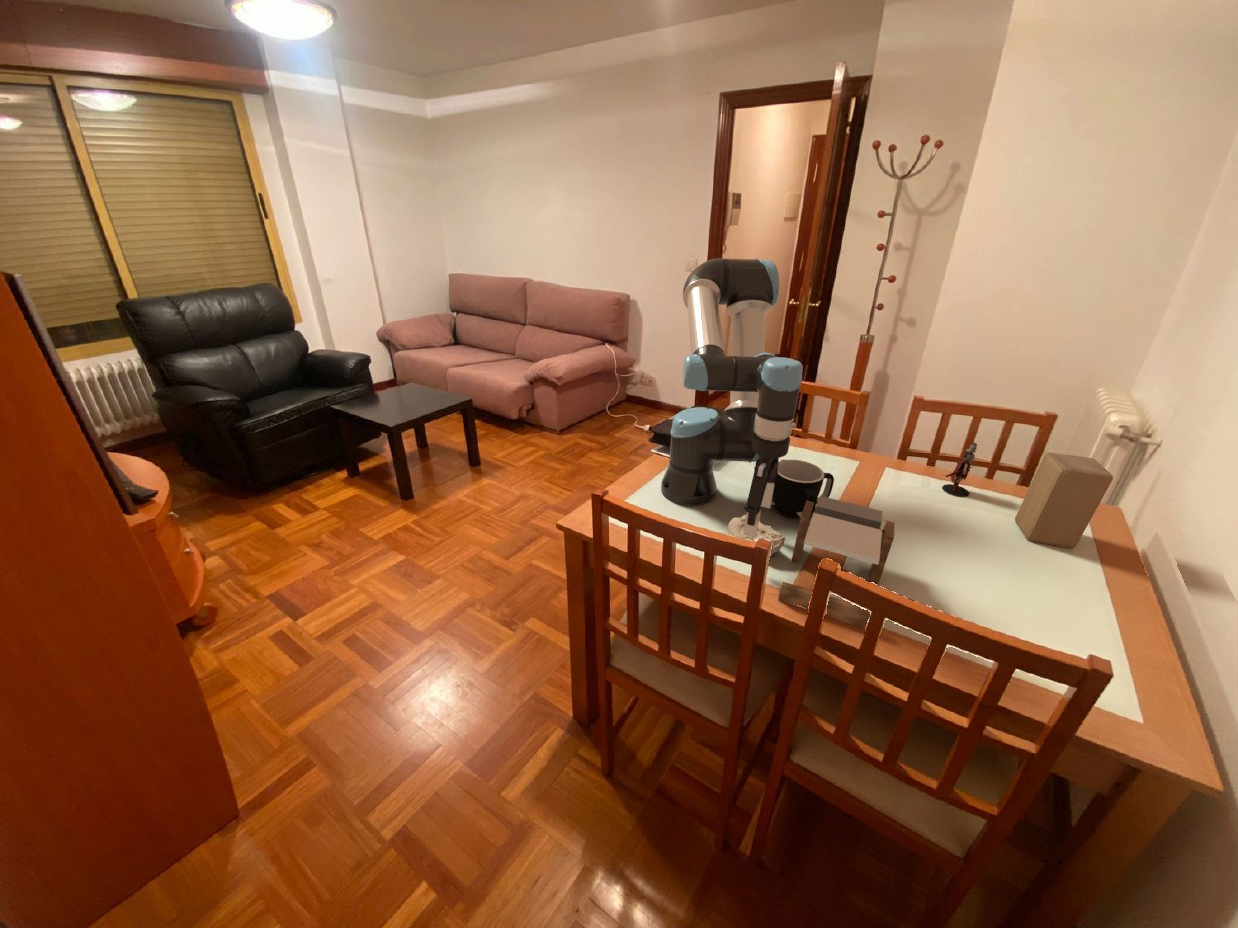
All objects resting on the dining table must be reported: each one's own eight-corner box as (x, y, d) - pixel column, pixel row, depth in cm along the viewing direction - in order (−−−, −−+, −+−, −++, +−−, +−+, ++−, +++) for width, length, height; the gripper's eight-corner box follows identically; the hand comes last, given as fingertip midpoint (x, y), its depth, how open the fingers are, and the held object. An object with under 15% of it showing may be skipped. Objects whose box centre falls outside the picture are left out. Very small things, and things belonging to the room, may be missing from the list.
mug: (779, 487, 141) (786, 449, 135) (834, 510, 131) (844, 470, 125) (747, 509, 131) (753, 469, 125) (804, 536, 121) (814, 493, 115)
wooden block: (1058, 527, 125) (1095, 456, 116) (1076, 550, 117) (1117, 476, 108) (1012, 519, 128) (1044, 450, 119) (1026, 541, 120) (1061, 468, 110)
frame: (778, 600, 101) (789, 548, 95) (795, 547, 116) (806, 500, 110) (872, 631, 94) (891, 578, 88) (878, 571, 109) (894, 522, 103)
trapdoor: (802, 551, 100) (804, 539, 98) (816, 506, 115) (819, 495, 113) (875, 573, 94) (879, 560, 93) (880, 522, 109) (883, 511, 108)
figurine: (969, 499, 137) (989, 450, 130) (939, 492, 140) (957, 444, 133) (968, 488, 142) (987, 441, 135) (939, 482, 145) (956, 435, 138)
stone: (750, 572, 114) (774, 551, 107) (716, 528, 119) (737, 505, 111) (770, 559, 118) (794, 539, 111) (737, 518, 123) (758, 495, 116)
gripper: (777, 461, 92) (760, 554, 102) (800, 418, 112) (785, 499, 121) (737, 452, 95) (725, 543, 105) (767, 412, 115) (754, 491, 124)
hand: (757, 520), depth 113 cm, fingers open, 13 cm apart
